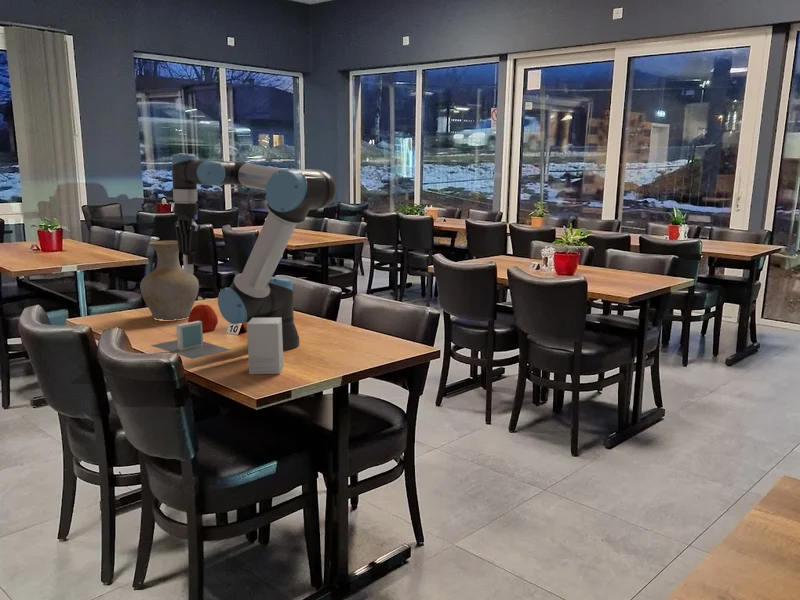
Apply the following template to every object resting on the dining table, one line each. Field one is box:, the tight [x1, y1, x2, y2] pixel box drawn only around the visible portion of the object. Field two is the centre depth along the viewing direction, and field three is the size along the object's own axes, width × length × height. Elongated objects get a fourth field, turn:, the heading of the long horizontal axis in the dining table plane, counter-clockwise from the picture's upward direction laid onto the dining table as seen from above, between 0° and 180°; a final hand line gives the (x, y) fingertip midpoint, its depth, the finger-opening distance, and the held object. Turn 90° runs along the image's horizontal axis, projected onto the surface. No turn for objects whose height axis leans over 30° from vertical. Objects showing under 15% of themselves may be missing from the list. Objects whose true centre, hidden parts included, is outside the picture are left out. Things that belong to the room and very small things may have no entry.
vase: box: [139, 240, 200, 320], centre depth 261 cm, size 22×22×30 cm
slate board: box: [151, 339, 232, 360], centre depth 215 cm, size 24×14×1 cm, turn 49°
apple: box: [187, 304, 219, 333], centre depth 239 cm, size 10×10×10 cm
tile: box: [175, 321, 204, 350], centre depth 214 cm, size 2×8×8 cm, turn 139°
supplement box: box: [246, 318, 284, 375], centre depth 193 cm, size 9×9×15 cm
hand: (188, 273), depth 222 cm, fingers closed
